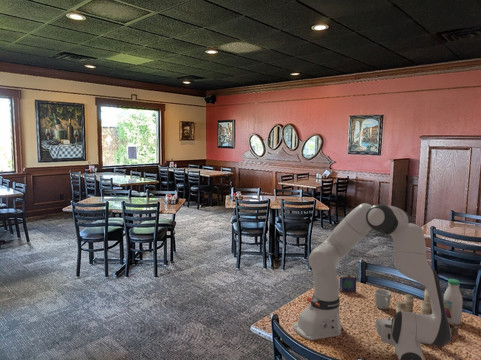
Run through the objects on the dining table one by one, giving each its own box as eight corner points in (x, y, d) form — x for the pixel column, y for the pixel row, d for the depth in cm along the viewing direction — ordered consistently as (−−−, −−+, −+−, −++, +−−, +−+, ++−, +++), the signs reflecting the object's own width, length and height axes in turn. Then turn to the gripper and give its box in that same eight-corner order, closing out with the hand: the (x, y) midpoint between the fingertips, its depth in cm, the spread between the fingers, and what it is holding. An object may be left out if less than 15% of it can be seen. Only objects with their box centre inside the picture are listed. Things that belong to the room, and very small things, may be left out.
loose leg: (400, 341, 146) (401, 305, 145) (393, 337, 149) (394, 302, 148) (406, 339, 148) (407, 303, 146) (398, 335, 151) (400, 300, 149)
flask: (339, 292, 197) (340, 273, 196) (338, 290, 199) (339, 272, 199) (356, 292, 196) (357, 274, 195) (355, 290, 198) (355, 272, 198)
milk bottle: (458, 318, 166) (461, 278, 164) (463, 326, 159) (465, 284, 157) (440, 316, 168) (442, 276, 167) (444, 323, 161) (446, 282, 159)
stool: (426, 346, 143) (428, 309, 141) (394, 328, 157) (395, 294, 156) (458, 333, 153) (460, 298, 151) (424, 317, 167) (426, 285, 165)
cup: (395, 313, 171) (396, 297, 170) (379, 313, 171) (380, 297, 171) (386, 303, 182) (387, 289, 181) (371, 303, 182) (372, 288, 181)
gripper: (435, 334, 130) (428, 317, 143) (377, 325, 136) (375, 309, 149) (434, 350, 130) (427, 331, 144) (376, 340, 137) (374, 323, 150)
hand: (400, 320), depth 146 cm, fingers open, 8 cm apart
